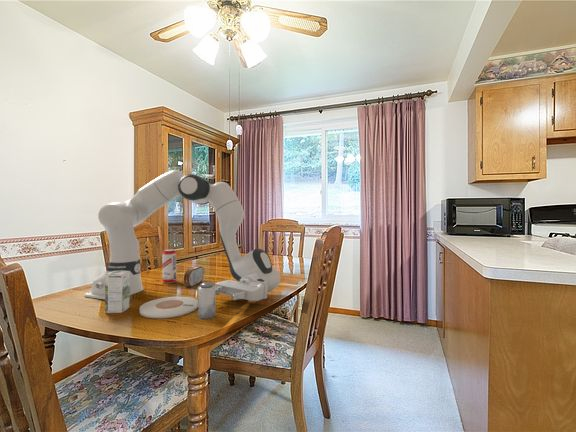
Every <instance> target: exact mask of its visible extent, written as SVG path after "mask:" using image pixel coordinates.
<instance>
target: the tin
mask: <svg viewBox="0 0 576 432" xmlns="http://www.w3.org/2000/svg"><path fill="white" fill-rule="evenodd" d="M204 273H205V271H204V267H203V266H201V265H195V266H192V267H189V268H187V269H186V271H185V273H184V276H183V285H184V286H185V287H190V288H191V287H194V286H196V285H199V284H200V283H202V281H203V279H204Z"/></svg>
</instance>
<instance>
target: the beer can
mask: <svg viewBox="0 0 576 432" xmlns="http://www.w3.org/2000/svg"><path fill="white" fill-rule="evenodd" d="M161 254H162V255H161V257H162V259H161V260H162V282H163V283H164V284H166V285H167V284H175V282H177V252H176V250H175V249H173V248H169V249H167V248H166V249H163V252H162V253H161Z"/></svg>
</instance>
